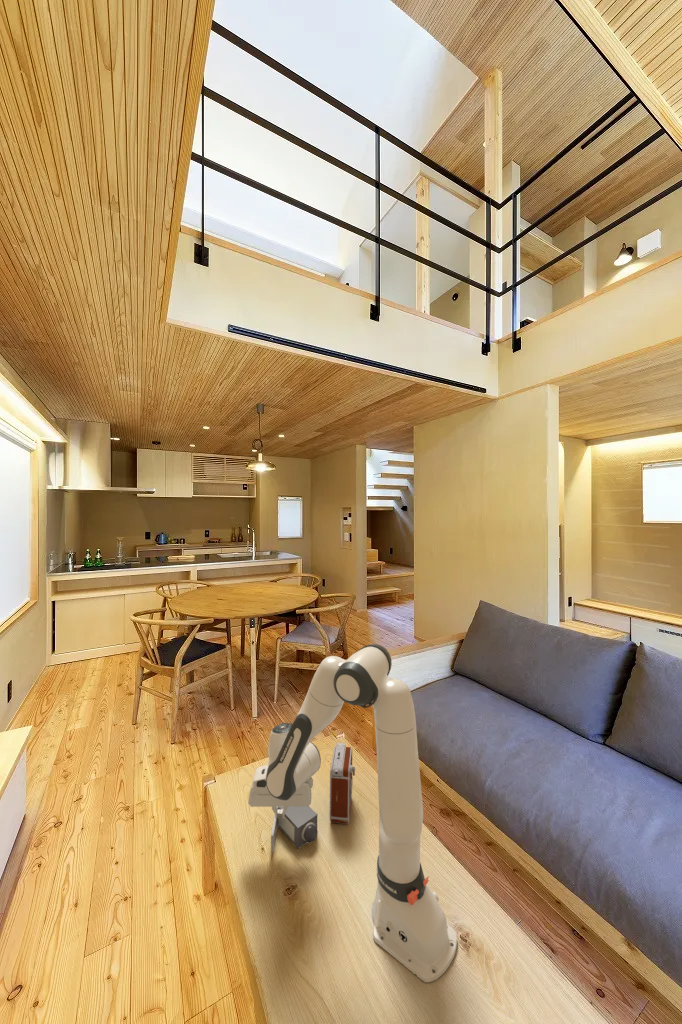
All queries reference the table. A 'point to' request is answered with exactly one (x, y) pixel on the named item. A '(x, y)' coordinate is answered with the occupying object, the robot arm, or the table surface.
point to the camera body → (299, 825)
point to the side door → (274, 833)
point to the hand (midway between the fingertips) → (279, 817)
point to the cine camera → (341, 784)
